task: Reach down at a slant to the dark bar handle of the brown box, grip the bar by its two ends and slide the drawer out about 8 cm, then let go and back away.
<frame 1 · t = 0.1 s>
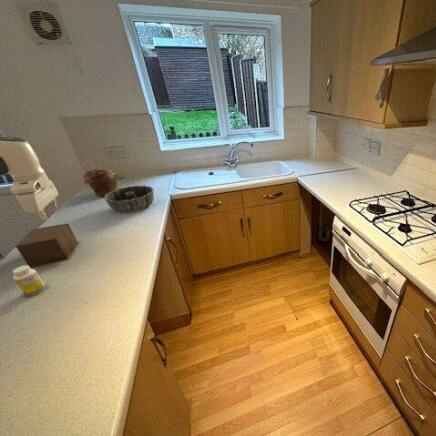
hand: (50, 214, 97), 21 cm above the worktop, tool pointing down, fingers open, 8 cm apart
terracotta flower pot: (107, 194, 174), on the worktop
bundt pan: (134, 207, 153), on the worktop
supplement bottle: (36, 291, 88), on the worktop
brown box: (55, 254, 108), on the worktop
drawer: (53, 239, 109), point 5 cm above the worktop, slide at 0.5 cm
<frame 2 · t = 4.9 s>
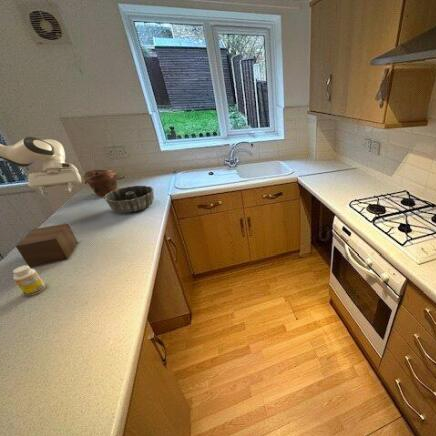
hand: (56, 193, 120), 20 cm above the worktop, tool tilted 45°, fingers open, 8 cm apart
nothing on the worktop moved.
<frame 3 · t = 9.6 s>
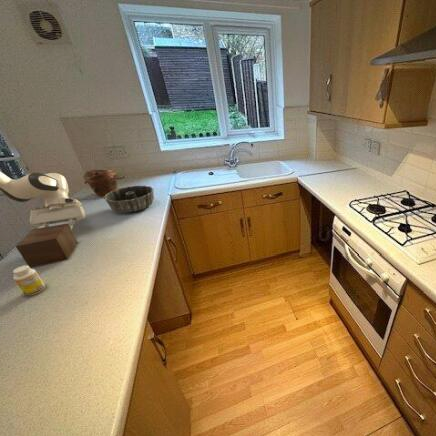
hand: (59, 230, 115), 6 cm above the worktop, tool tilted 45°, fingers closed on drawer, 6 cm apart
drawer: (53, 239, 109), point 5 cm above the worktop, slide at 0.5 cm, touching gripper
everything else where it was.
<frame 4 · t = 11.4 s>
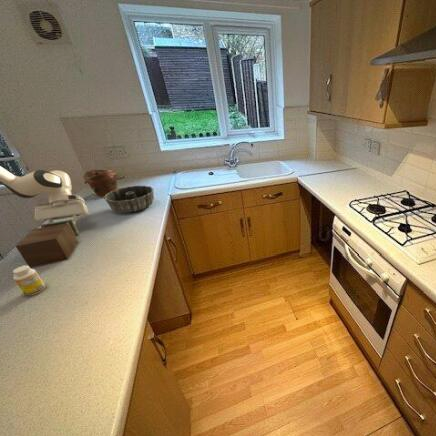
hand: (63, 226, 119), 6 cm above the worktop, tool tilted 45°, fingers closed on drawer, 6 cm apart
drawer: (57, 234, 113), point 5 cm above the worktop, slide at 5.3 cm, touching gripper
everything else where it was.
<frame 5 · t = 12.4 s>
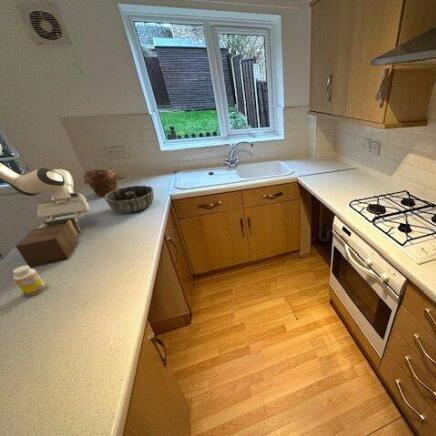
hand: (65, 223, 122), 6 cm above the worktop, tool tilted 45°, fingers closed on drawer, 6 cm apart
drawer: (60, 231, 116), point 5 cm above the worktop, slide at 8.5 cm, touching gripper
everything else where it was.
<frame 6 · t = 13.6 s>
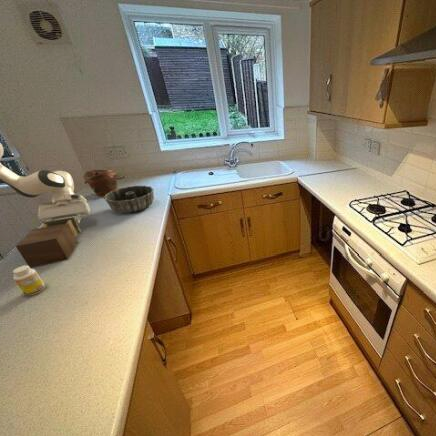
hand: (66, 224, 122), 5 cm above the worktop, tool tilted 45°, fingers open, 8 cm apart
drawer: (60, 231, 116), point 5 cm above the worktop, slide at 8.6 cm
everything else where it was.
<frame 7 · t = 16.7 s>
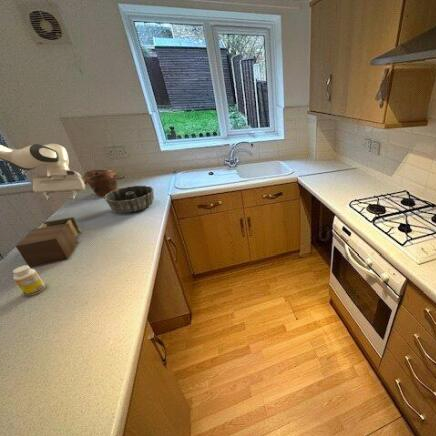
hand: (61, 199, 126), 15 cm above the worktop, tool tilted 35°, fingers open, 8 cm apart
nothing on the worktop moved.
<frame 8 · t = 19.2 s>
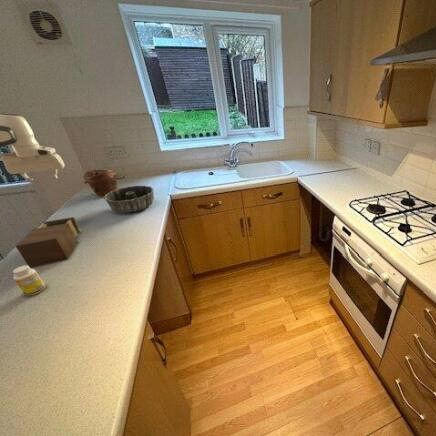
hand: (43, 180, 117), 27 cm above the worktop, tool pointing down, fingers open, 8 cm apart
nothing on the worktop moved.
at the end: drawer slide at 8.6 cm; supplement bottle moved 0.2 cm from its start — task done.
